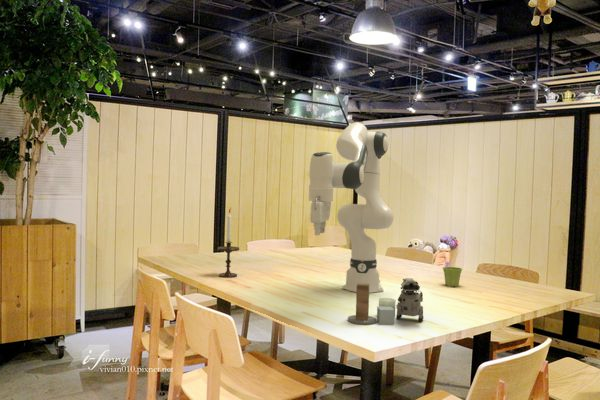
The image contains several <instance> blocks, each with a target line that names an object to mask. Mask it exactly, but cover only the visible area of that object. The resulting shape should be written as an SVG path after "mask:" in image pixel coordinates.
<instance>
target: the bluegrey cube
mask: <svg viewBox="0 0 600 400" xmlns="http://www.w3.org/2000/svg"><path fill="white" fill-rule="evenodd" d="M376 307H377V308H376V319H377V322H378V324H379V325H395V317H394V314H395V315H396V309H395V310H394V309H393V308H392V307H382V306H379V305H378V306H376Z"/></svg>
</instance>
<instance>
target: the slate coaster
mask: <svg viewBox="0 0 600 400" xmlns="http://www.w3.org/2000/svg"><path fill="white" fill-rule="evenodd" d="M347 321H348V322H349V323H351V324H354V325H361V326H369V325H375V324H377V322H378V321H377V317H374V316H372V315H371V316H370V315H368V320H356V314H354V315H349V316H347Z"/></svg>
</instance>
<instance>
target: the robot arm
mask: <svg viewBox="0 0 600 400" xmlns="http://www.w3.org/2000/svg"><path fill="white" fill-rule="evenodd" d="M335 145H336V151H337V153H338V154H339V156H340V157H341V158H343V159H345V160H347V161H349V162H335V161H334V158H333V153H332V152H329V151H322V152H321V151H320V152H314V153H313V154H312V155H311V158H310V163H309V181H310V182H309V185H308V201H310V202H311V205H310V213H309V214H310V217H309V221H310V223H312V224H313V228H314V229H313V230H314V236H320V235H321V234H324V233H326V231H325V228H326V225H327V223H326V222H327V221H329V220H330V215H331V206H332V202H333V201H334V188H336V189H347V190H348V189H349V190H350V189H351V190H354V191H355V193H357V195H359V196H360V197H362V198H364V199H365V204H363V203H359V204H358V203H349V204H344V205H341V206H340V207H339V209H338V211H337V215H336V218H337V222H338V223H339V224H340V226H342V227H343V228H344V230H345V231H346V232H347V234H348V236H349V239H350V246H351V249H350V250H351V254H350V255H351V258H349V259H350V261H349V268H348V269H347V270H346V274H345V275H346V277H345V278H346V279H345V284H344V285H342V287H341V289H343V290H347V291H349V292H354V293H357V284H358V283H365V284H369V294H370V293H371V294H372V293H378V292H379V293H380V292H384V288H383V286H382V285H381V280H380V272H379V271H378V269H377V265H378V262H377V243H376V241H375V240H374V239H373V238H372V237H371V236H369V235H368V234H367V233H366V232H365V230H367V229H368V230H384V229H389V228H390V227H391V225H392V224H393V222H394V213H393V210H392V209H391V208H390V206H388V205H387V204H386V203H385V202H384V200H383V198H382V195H381V191H380V190H381V189H380V179H381V178H380V176H381V165H380V164H381V162H380V159H381V158H382V156H385V154H386V153H387V151H388V148H389V138H388V136H387V133H385V132H383V131H368V128H367V127H366V125H364V123H362V122H351V123H350V124H349V125H348V126H346V127H345V128H344V129H343V131H342V132H341V133H340V135H339V136H338V138H337V141H336V144H335Z"/></svg>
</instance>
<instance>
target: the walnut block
mask: <svg viewBox="0 0 600 400" xmlns="http://www.w3.org/2000/svg"><path fill="white" fill-rule="evenodd" d="M355 293H356V299H355V315H356V320H368V316H369V309H370V306H369V305H370V303H369V302H370V293H369V284H365V283H358V284H357V292H355Z"/></svg>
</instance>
